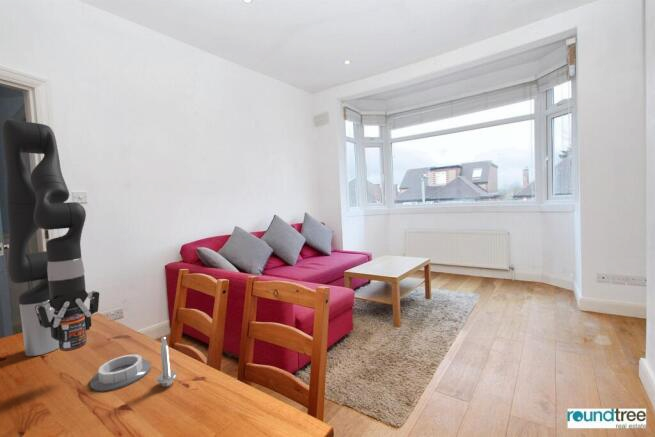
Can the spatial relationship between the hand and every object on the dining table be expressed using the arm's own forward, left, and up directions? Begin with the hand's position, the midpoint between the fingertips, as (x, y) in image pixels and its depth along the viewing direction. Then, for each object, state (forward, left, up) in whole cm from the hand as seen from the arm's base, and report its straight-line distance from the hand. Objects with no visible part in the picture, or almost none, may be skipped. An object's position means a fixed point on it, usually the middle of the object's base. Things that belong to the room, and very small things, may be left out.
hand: (72, 334), depth 84 cm
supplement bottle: (0, 0, -4) cm, 4 cm away
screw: (+27, +9, -13) cm, 31 cm away
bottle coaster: (+11, +6, -12) cm, 18 cm away
